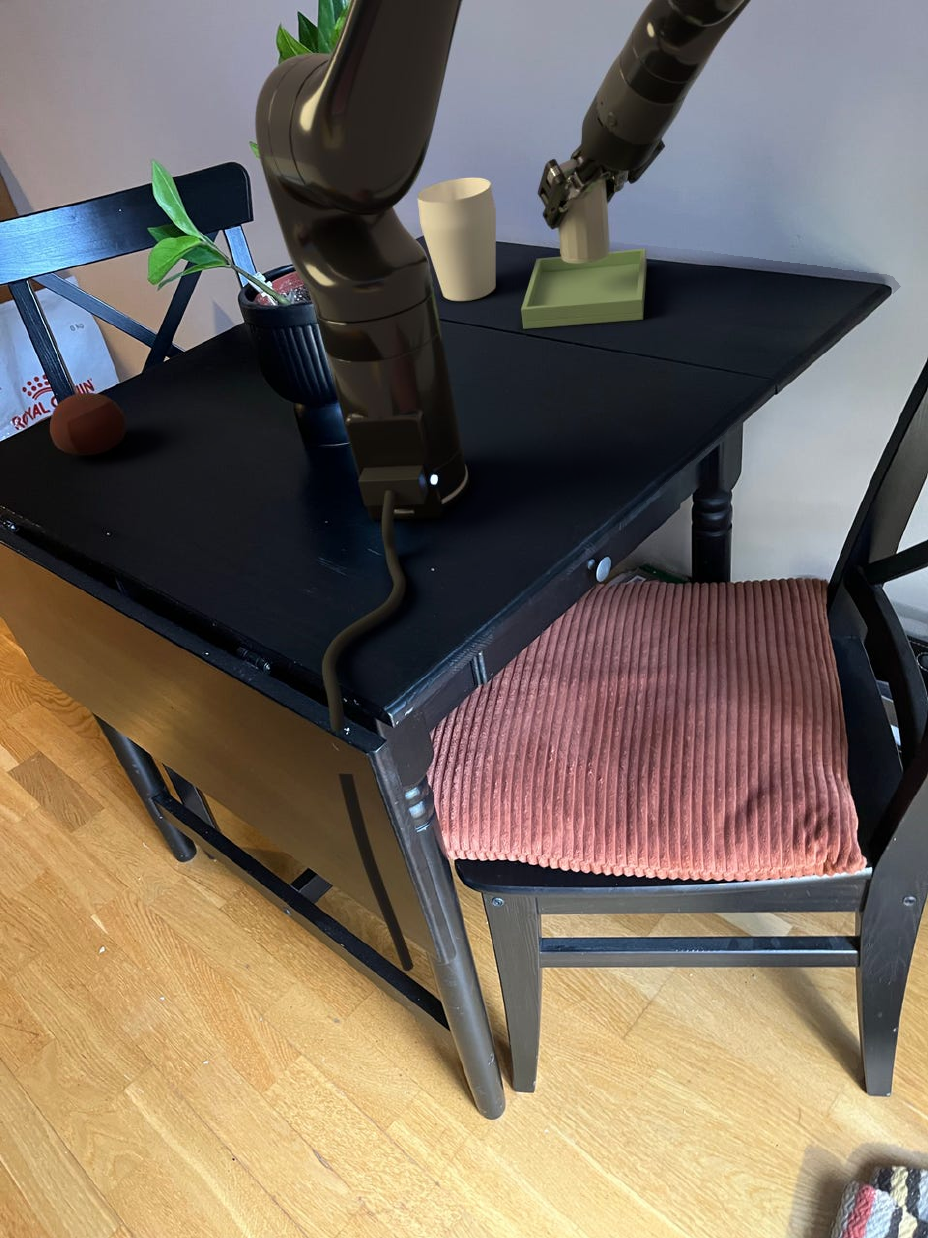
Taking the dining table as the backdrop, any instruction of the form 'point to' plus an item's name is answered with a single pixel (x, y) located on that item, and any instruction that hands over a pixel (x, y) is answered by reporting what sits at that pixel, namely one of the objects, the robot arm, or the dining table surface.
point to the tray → (586, 291)
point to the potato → (87, 424)
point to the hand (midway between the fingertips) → (572, 212)
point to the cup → (461, 236)
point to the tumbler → (585, 227)
